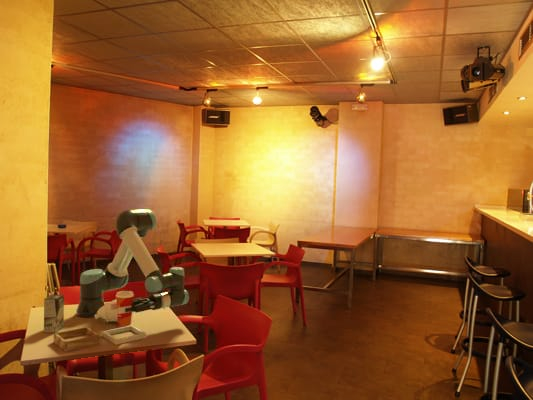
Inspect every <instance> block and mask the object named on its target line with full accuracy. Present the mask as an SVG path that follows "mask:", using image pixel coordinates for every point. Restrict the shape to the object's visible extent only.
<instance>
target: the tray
mask: <svg viewBox="0 0 533 400" xmlns="http://www.w3.org/2000/svg"><path fill="white" fill-rule="evenodd" d="M130 331H132V332H133V333H134V334H135V335H130V336H125V337H121V338H116V337H114V336H113V335H115V334H119V333H123V332H130ZM101 336H102V337H103V338H105V339H106V340H108V341H109V342H111V343H112V344H114V345H115V346H116V345H119V344H120V345H121V344H124V343H128V342H133V341H137V340H141V339H142V340H143V339H146V338H147V332H145V331H143V330H142V329H139V328H137V327H136V326H135V325H133V324H130V325H128V326H120V327H117V328H113V329H108V330H104V331H101Z"/></svg>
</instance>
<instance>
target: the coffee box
mask: <svg viewBox="0 0 533 400" xmlns="http://www.w3.org/2000/svg"><path fill="white" fill-rule="evenodd" d="M64 316H65V294H50V295H49V296H47V297H45V298H44V299H43V333H57V332H60V330H62V329H63V328H64V325H65V324H64V323H65V317H64Z"/></svg>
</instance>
